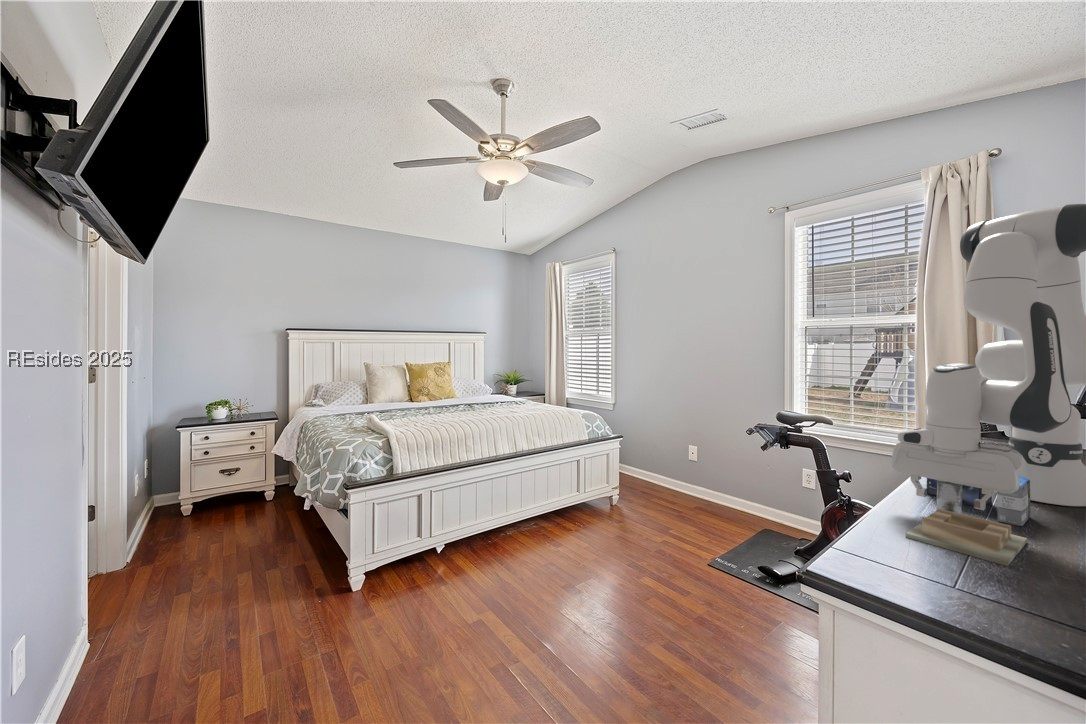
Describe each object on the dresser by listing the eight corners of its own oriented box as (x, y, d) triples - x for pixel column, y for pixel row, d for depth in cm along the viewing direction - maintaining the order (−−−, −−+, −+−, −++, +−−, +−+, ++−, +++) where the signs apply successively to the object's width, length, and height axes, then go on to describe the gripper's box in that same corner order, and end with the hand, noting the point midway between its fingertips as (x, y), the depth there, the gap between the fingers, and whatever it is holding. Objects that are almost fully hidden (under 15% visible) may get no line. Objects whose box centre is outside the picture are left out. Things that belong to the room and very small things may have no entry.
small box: (924, 494, 111) (925, 453, 111) (938, 490, 114) (939, 450, 114) (978, 508, 102) (980, 463, 101) (993, 504, 104) (994, 460, 104)
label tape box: (1022, 527, 91) (1024, 468, 91) (994, 520, 94) (996, 464, 94) (1031, 517, 96) (1032, 462, 96) (1004, 512, 99) (1006, 458, 99)
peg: (939, 513, 98) (940, 478, 98) (963, 519, 95) (964, 483, 95) (933, 517, 96) (934, 481, 96) (958, 523, 93) (959, 486, 93)
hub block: (932, 518, 96) (932, 503, 96) (1026, 542, 84) (1027, 525, 84) (905, 536, 87) (906, 520, 87) (1007, 566, 75) (1008, 547, 75)
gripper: (1025, 445, 88) (1022, 514, 89) (899, 430, 105) (897, 487, 105) (1018, 449, 84) (1015, 520, 85) (889, 432, 101) (887, 492, 102)
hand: (949, 502), depth 95 cm, fingers open, 8 cm apart
